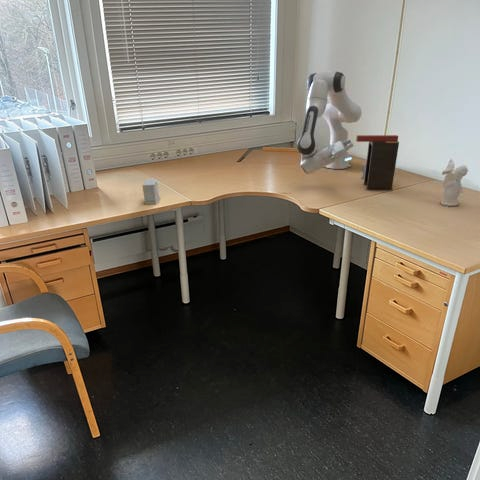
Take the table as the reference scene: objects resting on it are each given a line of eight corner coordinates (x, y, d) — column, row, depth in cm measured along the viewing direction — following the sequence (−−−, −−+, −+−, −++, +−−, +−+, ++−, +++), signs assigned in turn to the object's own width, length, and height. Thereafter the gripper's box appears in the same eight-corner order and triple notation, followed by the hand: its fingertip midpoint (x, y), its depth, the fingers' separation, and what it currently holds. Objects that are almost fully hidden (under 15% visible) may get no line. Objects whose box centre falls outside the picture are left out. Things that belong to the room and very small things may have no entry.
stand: (363, 183, 285) (369, 137, 271) (387, 184, 284) (394, 137, 270) (366, 189, 274) (373, 142, 261) (391, 190, 274) (399, 142, 260)
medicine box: (376, 179, 293) (378, 164, 288) (373, 180, 290) (375, 166, 285) (365, 176, 297) (367, 162, 293) (361, 178, 295) (363, 164, 290)
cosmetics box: (148, 198, 267) (145, 179, 262) (159, 198, 267) (157, 179, 262) (144, 204, 258) (141, 184, 253) (156, 204, 258) (154, 184, 253)
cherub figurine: (463, 206, 248) (473, 162, 237) (442, 208, 245) (451, 165, 234) (448, 199, 258) (457, 157, 247) (428, 201, 255) (436, 159, 244)
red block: (356, 140, 265) (356, 135, 263) (396, 140, 263) (397, 135, 262) (356, 141, 262) (357, 136, 261) (397, 141, 261) (398, 136, 260)
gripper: (327, 154, 258) (351, 141, 254) (324, 146, 276) (347, 133, 271) (332, 164, 261) (356, 151, 257) (329, 156, 278) (351, 143, 274)
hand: (351, 142), depth 264 cm, fingers open, 8 cm apart
